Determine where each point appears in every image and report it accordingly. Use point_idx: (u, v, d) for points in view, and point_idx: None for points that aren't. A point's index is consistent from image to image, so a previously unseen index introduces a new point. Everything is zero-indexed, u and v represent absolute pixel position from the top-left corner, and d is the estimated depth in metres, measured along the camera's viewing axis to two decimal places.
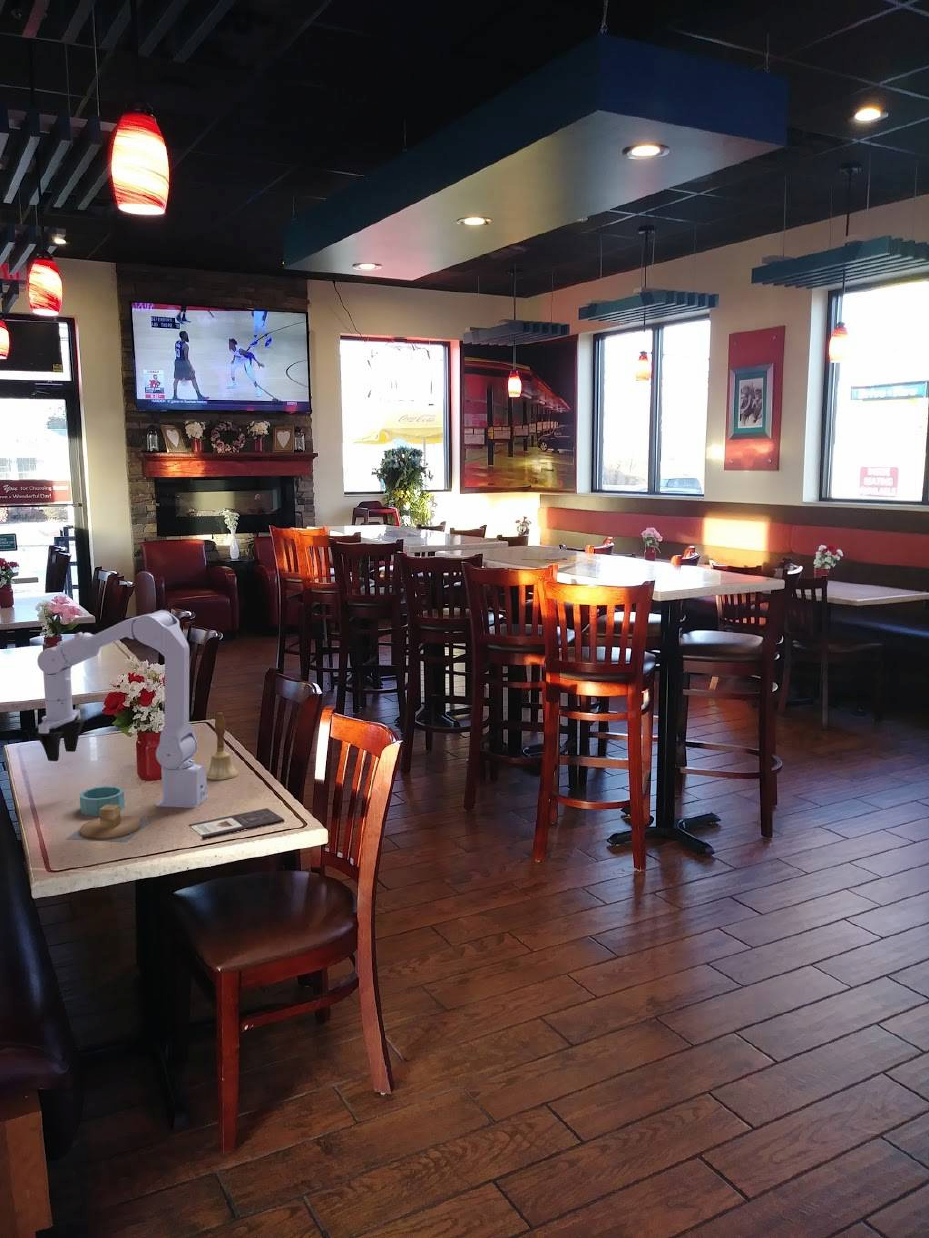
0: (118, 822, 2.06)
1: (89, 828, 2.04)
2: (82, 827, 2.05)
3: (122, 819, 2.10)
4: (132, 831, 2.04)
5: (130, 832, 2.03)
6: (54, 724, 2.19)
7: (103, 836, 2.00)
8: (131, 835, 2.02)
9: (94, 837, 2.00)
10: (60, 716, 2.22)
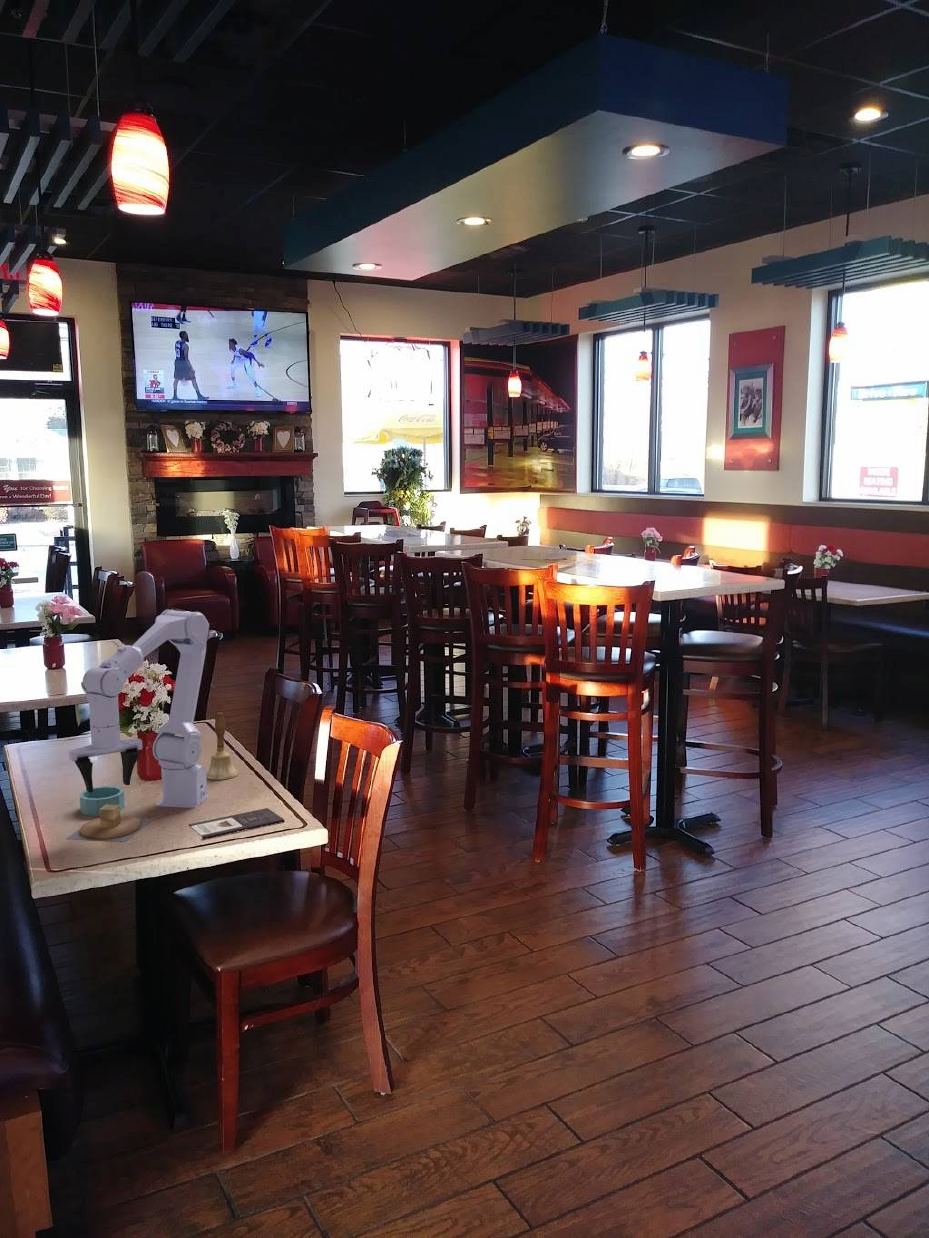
0: (118, 822, 2.06)
1: (89, 828, 2.04)
2: (82, 827, 2.05)
3: (122, 819, 2.10)
4: (132, 831, 2.04)
5: (130, 832, 2.03)
6: (84, 752, 1.99)
7: (103, 836, 2.00)
8: (131, 835, 2.02)
9: (94, 837, 2.00)
10: (97, 745, 2.01)
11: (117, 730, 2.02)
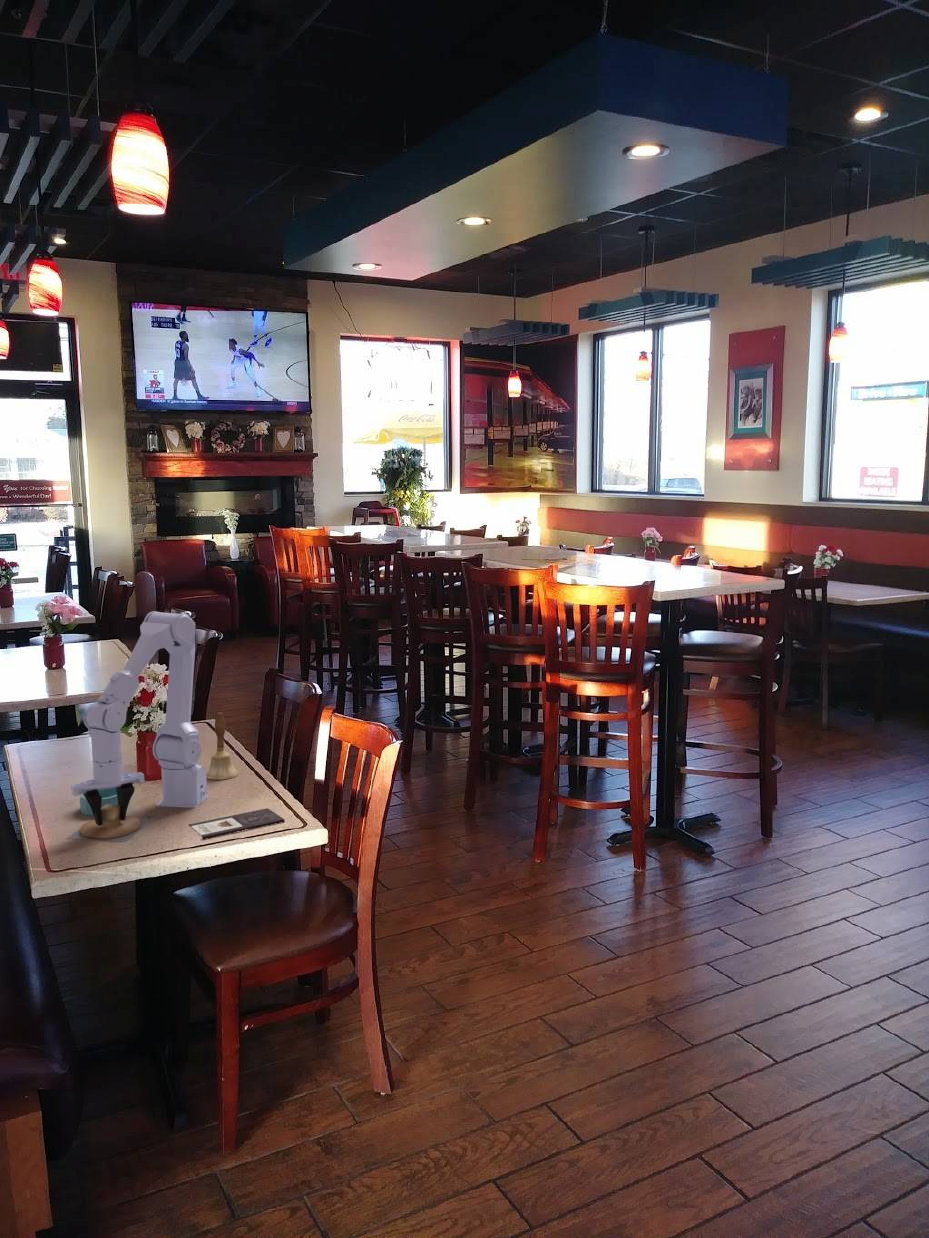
0: (118, 822, 2.06)
1: (89, 828, 2.04)
2: (82, 827, 2.05)
3: None
4: (132, 831, 2.04)
5: (130, 832, 2.03)
6: (86, 787, 2.00)
7: (103, 836, 2.00)
8: (131, 835, 2.02)
9: (94, 837, 2.00)
10: (99, 780, 2.02)
11: (119, 765, 2.03)
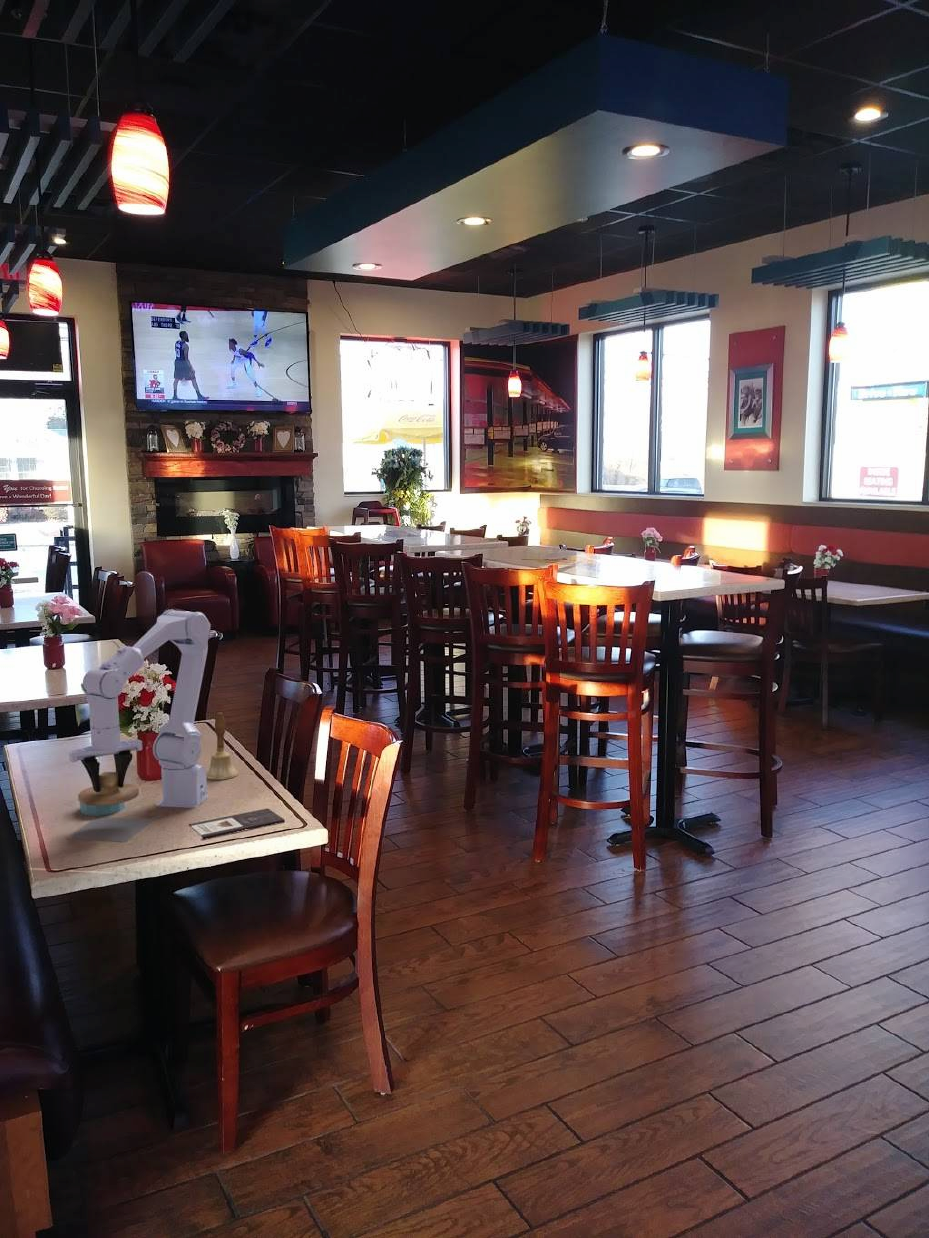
0: (116, 789, 2.06)
1: (87, 795, 2.04)
2: (80, 794, 2.04)
3: None
4: (130, 798, 2.03)
5: (128, 798, 2.03)
6: (84, 753, 2.00)
7: (101, 802, 2.00)
8: (131, 835, 2.02)
9: (92, 803, 2.00)
10: (97, 746, 2.01)
11: (117, 731, 2.03)
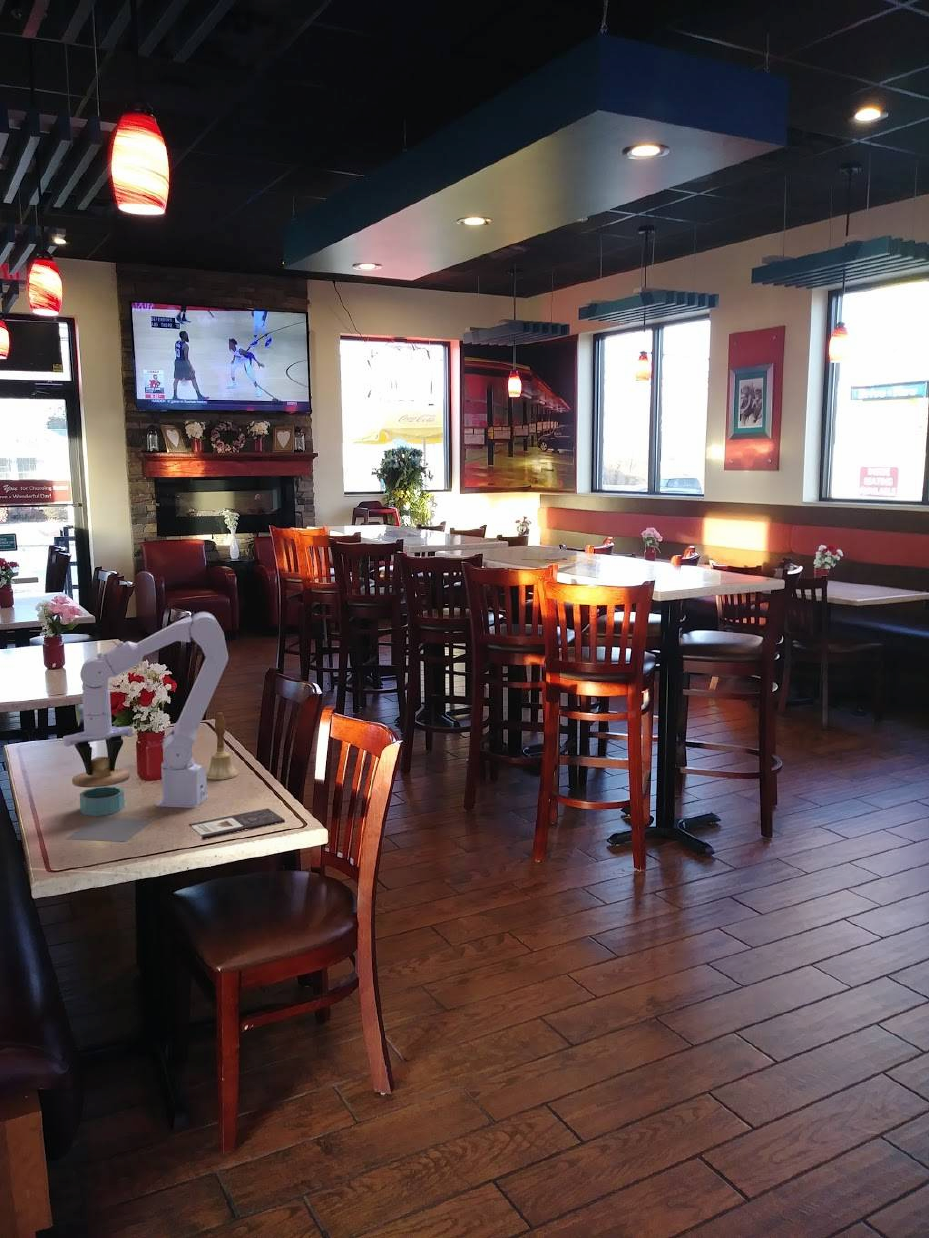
0: (108, 773, 2.18)
1: (80, 779, 2.16)
2: (74, 778, 2.16)
3: (112, 771, 2.21)
4: (121, 780, 2.15)
5: (118, 781, 2.14)
6: (77, 738, 2.12)
7: (93, 784, 2.12)
8: (131, 835, 2.02)
9: (85, 785, 2.12)
10: (89, 732, 2.13)
11: (108, 718, 2.15)
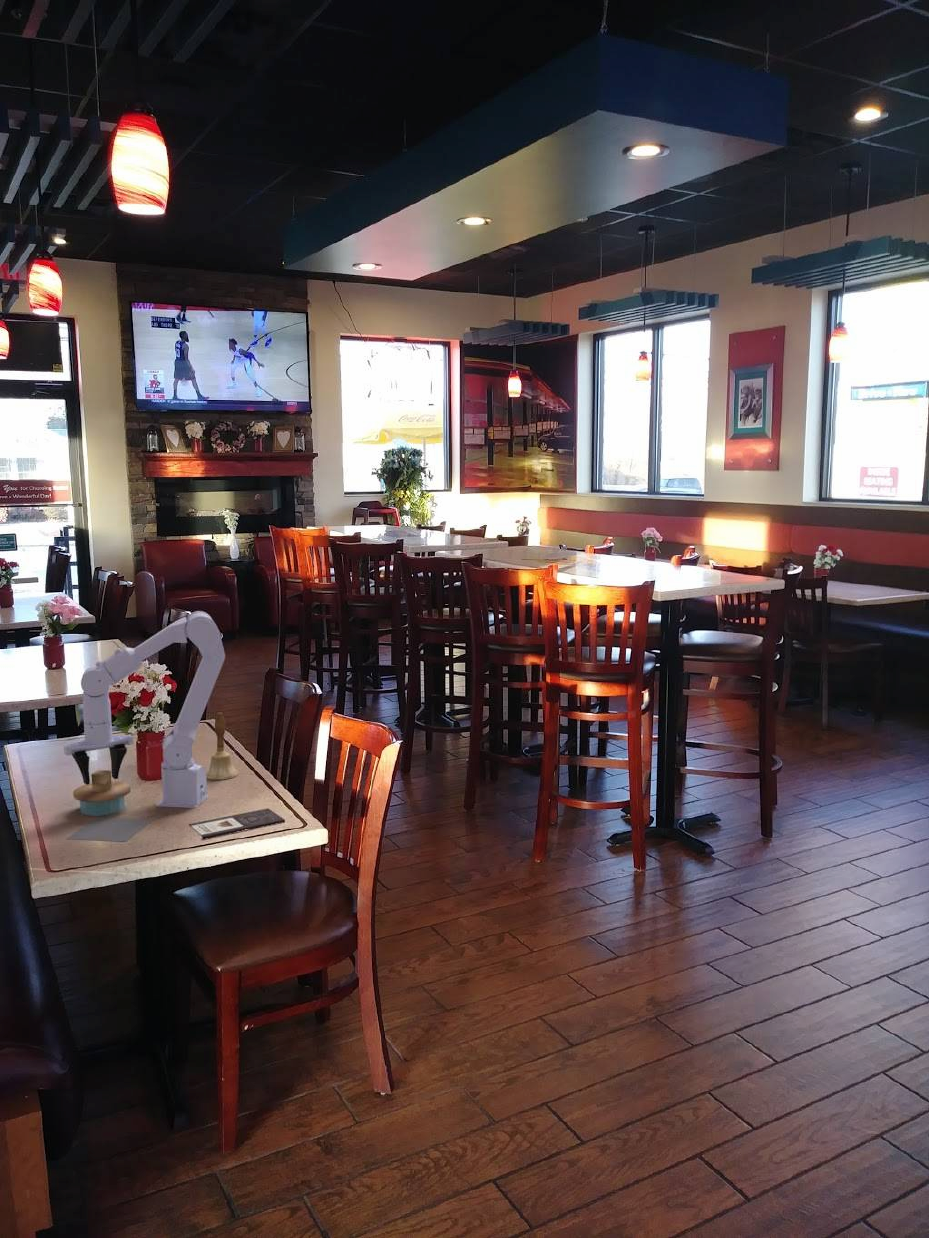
0: (109, 786, 2.18)
1: (81, 792, 2.16)
2: (75, 791, 2.17)
3: (113, 784, 2.21)
4: (122, 795, 2.15)
5: (119, 795, 2.15)
6: (78, 747, 2.12)
7: (94, 799, 2.12)
8: (131, 835, 2.02)
9: (86, 800, 2.12)
10: (90, 740, 2.14)
11: (109, 726, 2.15)
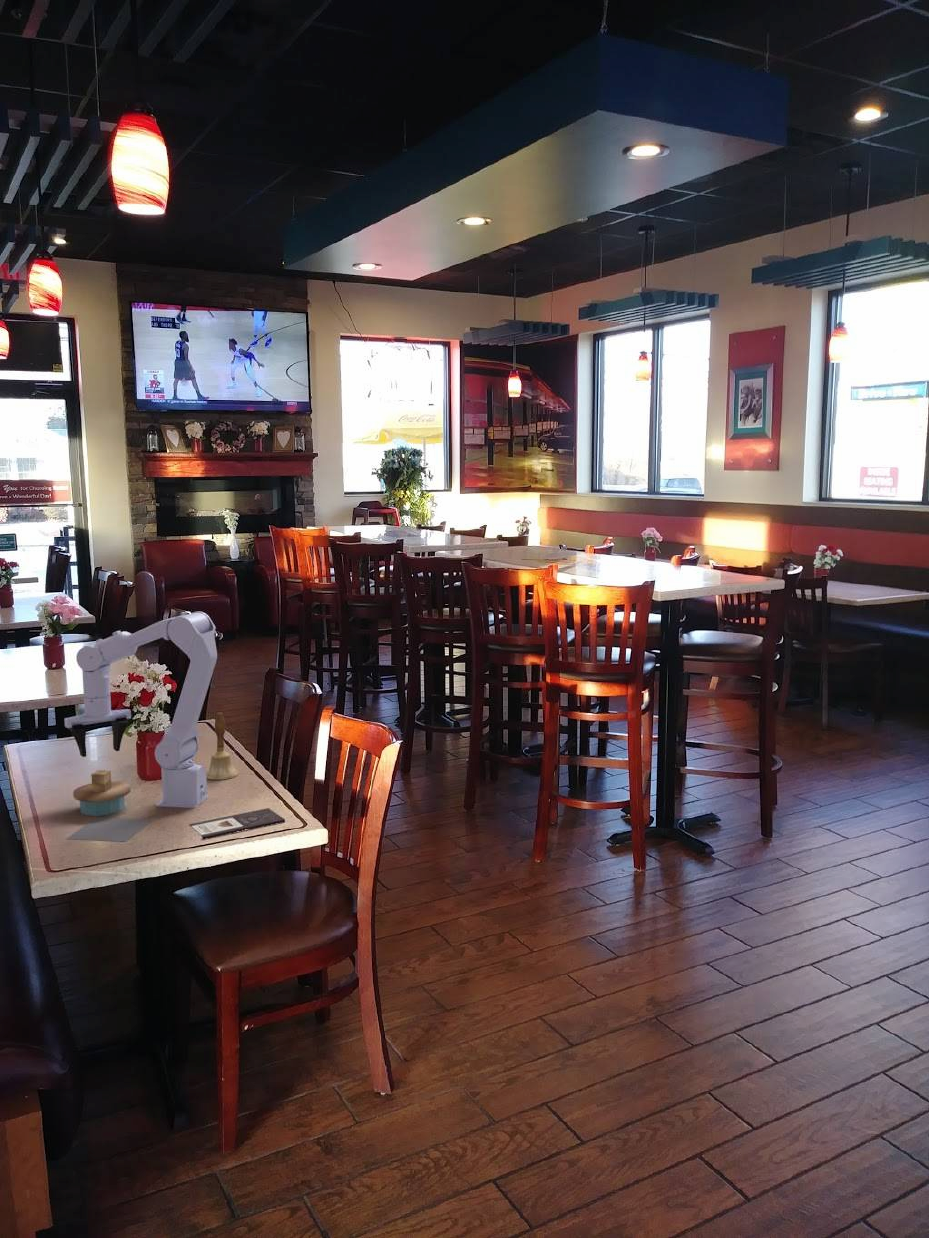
0: (109, 786, 2.18)
1: (81, 792, 2.16)
2: (75, 791, 2.17)
3: (113, 784, 2.21)
4: (122, 795, 2.15)
5: (119, 795, 2.15)
6: (78, 720, 2.21)
7: (94, 799, 2.12)
8: (131, 835, 2.02)
9: (86, 800, 2.12)
10: (90, 714, 2.22)
11: (108, 701, 2.24)
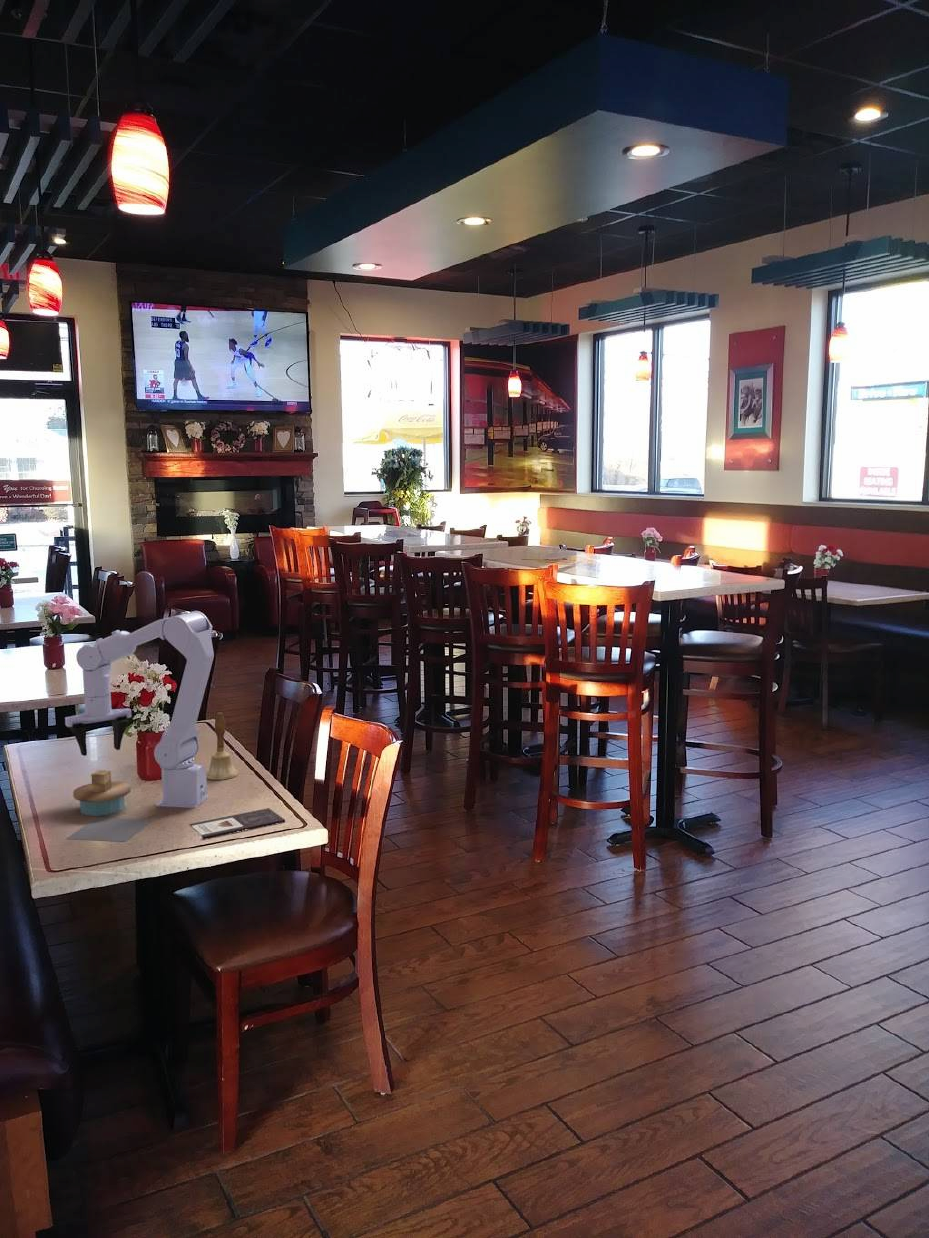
0: (109, 786, 2.18)
1: (81, 792, 2.16)
2: (75, 791, 2.17)
3: (113, 784, 2.21)
4: (122, 795, 2.15)
5: (119, 795, 2.15)
6: (79, 719, 2.22)
7: (94, 799, 2.12)
8: (131, 835, 2.02)
9: (86, 800, 2.12)
10: (90, 713, 2.24)
11: (108, 700, 2.25)
